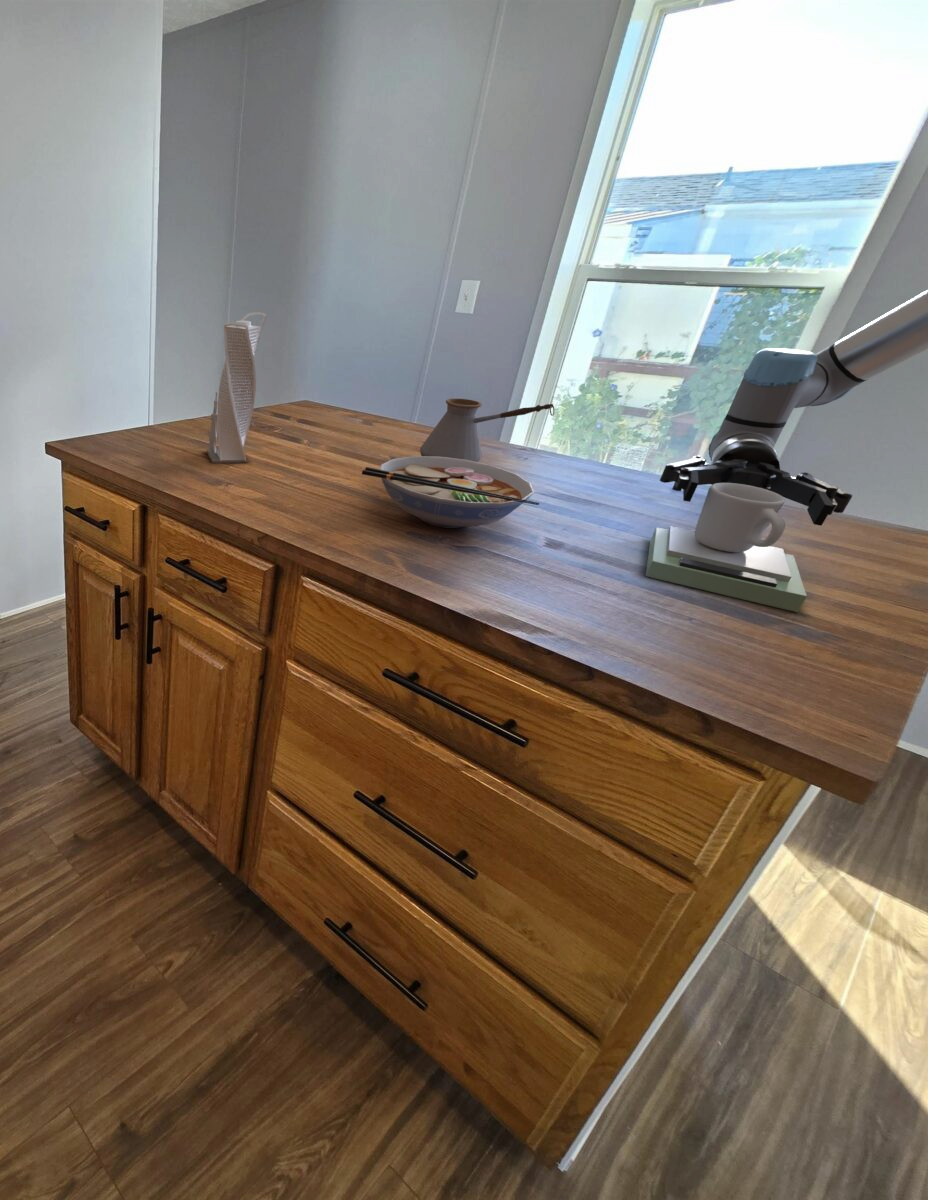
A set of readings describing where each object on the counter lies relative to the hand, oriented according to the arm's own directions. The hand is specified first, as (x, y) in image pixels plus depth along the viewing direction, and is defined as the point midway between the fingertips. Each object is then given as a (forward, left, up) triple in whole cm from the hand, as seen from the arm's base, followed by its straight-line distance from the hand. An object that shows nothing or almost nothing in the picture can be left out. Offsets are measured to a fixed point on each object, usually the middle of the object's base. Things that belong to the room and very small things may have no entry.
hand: (754, 503), depth 87 cm
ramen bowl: (+36, +4, -11) cm, 38 cm away
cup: (0, -2, -8) cm, 8 cm away
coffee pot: (+38, -26, -11) cm, 47 cm away
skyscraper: (+80, -3, -11) cm, 81 cm away
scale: (0, 0, -11) cm, 11 cm away
